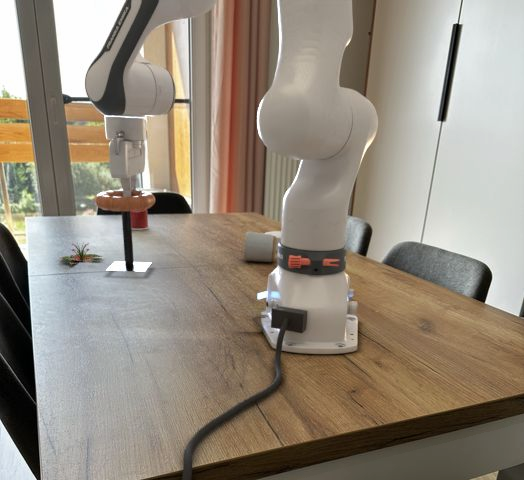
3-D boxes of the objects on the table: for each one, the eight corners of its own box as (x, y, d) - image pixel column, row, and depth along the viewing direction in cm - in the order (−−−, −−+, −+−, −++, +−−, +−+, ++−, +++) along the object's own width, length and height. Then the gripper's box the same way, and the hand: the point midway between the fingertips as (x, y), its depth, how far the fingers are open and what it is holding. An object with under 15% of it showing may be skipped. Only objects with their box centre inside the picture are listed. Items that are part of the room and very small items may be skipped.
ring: (149, 212, 110) (148, 198, 109) (88, 212, 110) (86, 197, 109) (159, 202, 122) (158, 189, 121) (103, 201, 122) (102, 188, 120)
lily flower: (66, 269, 122) (64, 250, 120) (49, 259, 130) (47, 241, 128) (114, 263, 129) (113, 245, 127) (95, 254, 137) (93, 237, 136)
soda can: (125, 226, 177) (123, 190, 172) (147, 226, 179) (145, 190, 174) (127, 230, 171) (124, 193, 166) (149, 230, 173) (147, 193, 168)
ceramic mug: (274, 265, 134) (276, 235, 131) (243, 263, 134) (244, 233, 131) (276, 257, 143) (278, 229, 141) (247, 255, 144) (248, 227, 141)
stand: (145, 278, 118) (142, 213, 112) (105, 276, 118) (100, 211, 112) (152, 268, 126) (149, 207, 120) (115, 267, 126) (110, 206, 120)
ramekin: (298, 251, 151) (299, 236, 150) (270, 252, 148) (271, 237, 146) (286, 245, 159) (286, 230, 157) (259, 246, 156) (259, 231, 154)
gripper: (130, 132, 105) (134, 202, 110) (148, 132, 124) (151, 191, 129) (99, 131, 105) (104, 200, 110) (122, 131, 124) (126, 190, 129)
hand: (130, 195), depth 120 cm, fingers closed on ring, 3 cm apart
